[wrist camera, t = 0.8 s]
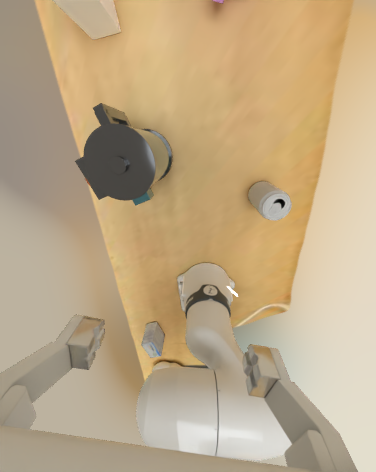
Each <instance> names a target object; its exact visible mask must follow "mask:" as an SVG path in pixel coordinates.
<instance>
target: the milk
mask: <svg viewBox="0 0 376 472" xmlns="http://www.w3.org/2000/svg"><path fill="white" fill-rule="evenodd" d="M53 1H54V2H55V3H56V4H57V5H58V6H59V7H60V8H61V9H62V10H63V11H64V12H65V13H66V14H67V15H68V16H69V17H70V18H71V19H72V20H73V21H74V22H75V23H76V24H77V25H78V26H79V27H80V28H81V29H82V30H83V31H84V32H85V33H86V34H87V35H88V36H90V37H91V38H92V39H93V40H95V39H99V38H102V37H106V36H109V35H113V34H117V33H120V32H121V29H120V25H119V21H118V17H117V13H116V9H115V5H114V0H53Z"/></svg>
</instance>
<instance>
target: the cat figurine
mask: <svg viewBox="0 0 376 472" xmlns="http://www.w3.org/2000/svg"><path fill="white" fill-rule="evenodd" d="M177 366H180V365H179V364H177V363H169V362H159V363H157V364H156V365H155V366H154V367H153V369H152V372H153V371H154V370H157V369H163V368H169V367H177Z"/></svg>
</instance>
